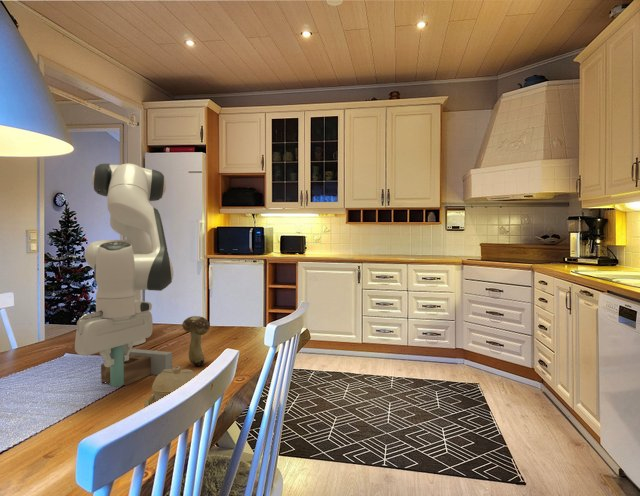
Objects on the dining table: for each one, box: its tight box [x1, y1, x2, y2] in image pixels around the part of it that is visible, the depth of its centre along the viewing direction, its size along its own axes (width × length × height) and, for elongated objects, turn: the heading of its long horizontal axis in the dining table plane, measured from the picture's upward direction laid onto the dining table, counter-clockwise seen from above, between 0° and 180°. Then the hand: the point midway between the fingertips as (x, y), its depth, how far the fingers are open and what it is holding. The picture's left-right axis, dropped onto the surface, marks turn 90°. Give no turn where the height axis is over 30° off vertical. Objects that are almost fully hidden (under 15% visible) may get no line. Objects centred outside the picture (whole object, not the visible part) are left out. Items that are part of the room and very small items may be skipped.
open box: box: [100, 355, 152, 386], centre depth 116 cm, size 8×10×5 cm
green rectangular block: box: [109, 345, 124, 388], centre depth 103 cm, size 3×3×10 cm
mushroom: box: [181, 315, 211, 367], centre depth 128 cm, size 9×9×15 cm
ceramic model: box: [144, 365, 197, 408], centre depth 95 cm, size 14×11×10 cm
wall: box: [129, 348, 173, 376], centre depth 122 cm, size 18×3×6 cm, turn 73°
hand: (116, 363), depth 103 cm, fingers closed on green rectangular block, 3 cm apart
